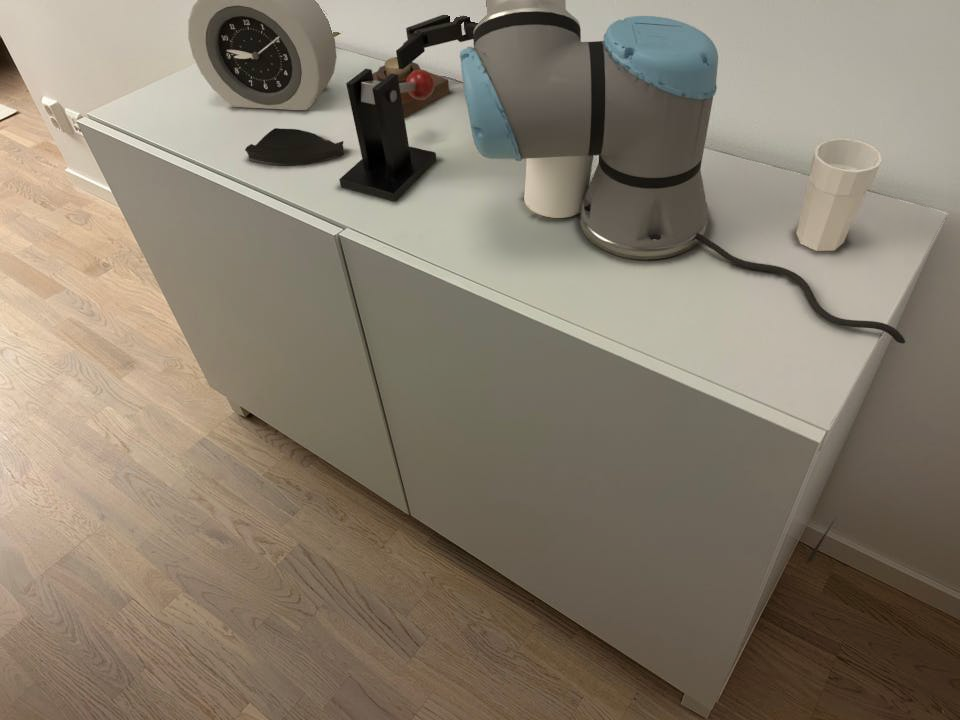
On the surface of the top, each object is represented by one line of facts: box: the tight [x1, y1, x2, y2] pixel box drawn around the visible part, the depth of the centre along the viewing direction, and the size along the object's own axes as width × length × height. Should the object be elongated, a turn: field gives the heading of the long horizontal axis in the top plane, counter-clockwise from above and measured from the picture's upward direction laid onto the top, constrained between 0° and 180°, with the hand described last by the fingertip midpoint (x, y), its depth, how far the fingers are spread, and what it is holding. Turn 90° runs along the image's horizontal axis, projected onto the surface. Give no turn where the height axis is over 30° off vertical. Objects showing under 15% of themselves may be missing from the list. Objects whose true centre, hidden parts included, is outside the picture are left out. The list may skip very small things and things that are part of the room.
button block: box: [372, 61, 451, 118], centre depth 115 cm, size 12×10×4 cm
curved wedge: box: [244, 127, 345, 166], centre depth 106 cm, size 8×14×2 cm, turn 68°
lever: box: [361, 68, 434, 104], centre depth 97 cm, size 14×4×4 cm, turn 152°
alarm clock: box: [187, 0, 337, 111], centre depth 111 cm, size 21×8×20 cm, turn 77°
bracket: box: [338, 68, 437, 202], centre depth 96 cm, size 11×9×14 cm
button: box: [384, 56, 411, 77], centre depth 113 cm, size 4×4×2 cm
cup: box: [795, 137, 883, 252], centre depth 80 cm, size 7×7×11 cm
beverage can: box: [523, 155, 595, 219], centre depth 89 cm, size 8×8×12 cm
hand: (438, 66), depth 104 cm, fingers open, 13 cm apart
